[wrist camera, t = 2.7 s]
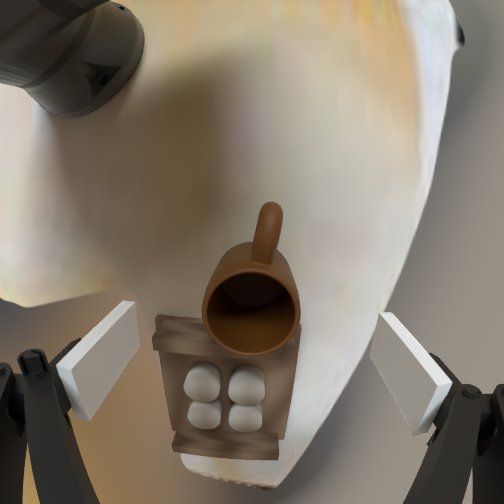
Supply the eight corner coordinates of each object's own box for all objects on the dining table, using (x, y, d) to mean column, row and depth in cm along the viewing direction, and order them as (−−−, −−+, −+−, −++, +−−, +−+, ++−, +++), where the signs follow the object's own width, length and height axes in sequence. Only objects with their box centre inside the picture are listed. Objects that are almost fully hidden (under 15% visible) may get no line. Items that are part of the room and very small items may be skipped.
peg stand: (174, 426, 36) (166, 450, 31) (157, 314, 32) (142, 336, 27) (283, 434, 36) (285, 460, 31) (300, 323, 31) (306, 347, 26)
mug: (232, 189, 28) (218, 193, 19) (308, 205, 28) (330, 217, 19) (211, 301, 31) (193, 348, 22) (281, 315, 31) (288, 365, 22)
